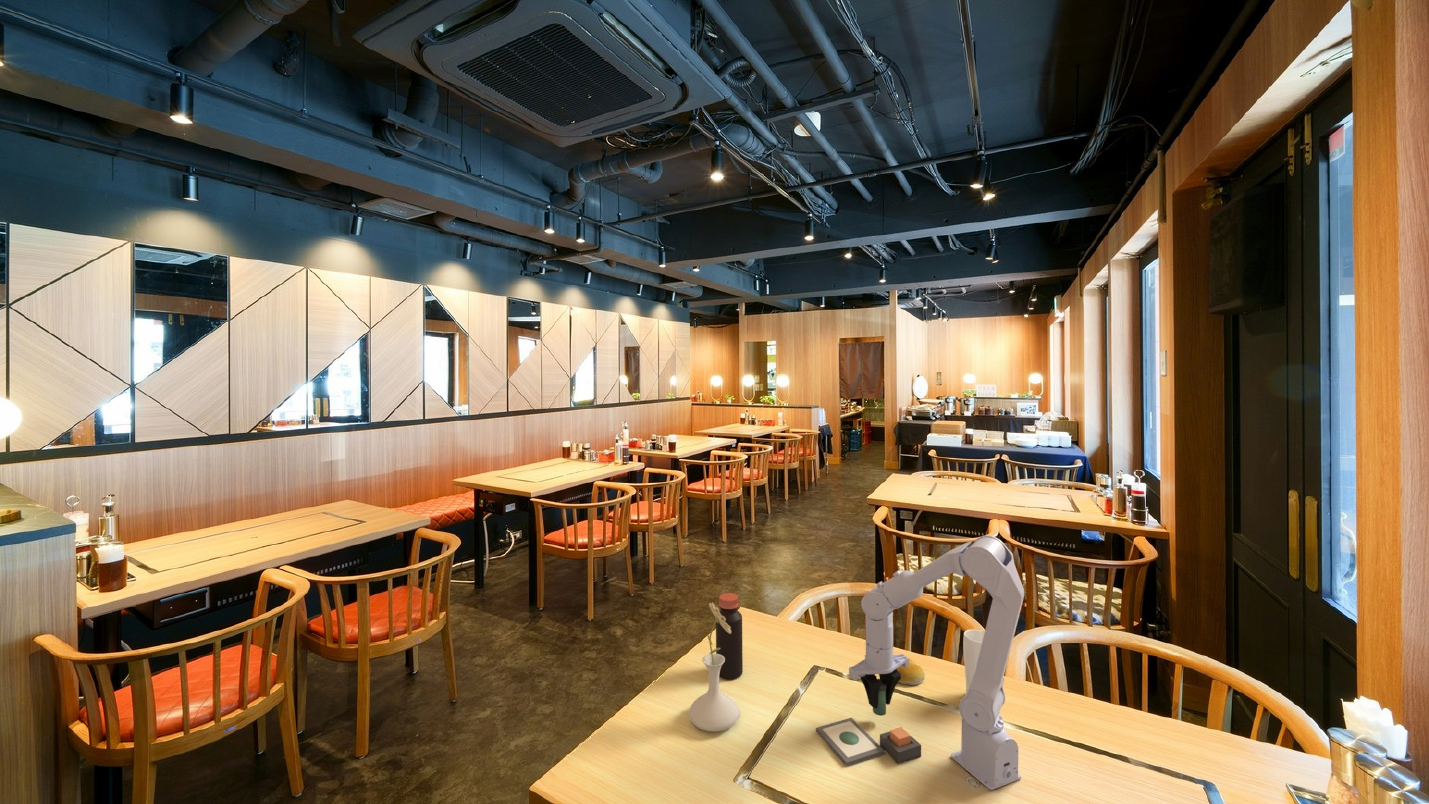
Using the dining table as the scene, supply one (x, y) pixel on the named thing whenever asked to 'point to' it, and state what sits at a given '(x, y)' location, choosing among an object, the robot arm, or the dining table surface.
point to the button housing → (900, 749)
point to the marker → (881, 699)
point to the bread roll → (911, 674)
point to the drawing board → (849, 741)
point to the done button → (900, 737)
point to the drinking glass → (971, 653)
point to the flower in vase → (714, 692)
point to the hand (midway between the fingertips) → (879, 703)
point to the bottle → (730, 637)
